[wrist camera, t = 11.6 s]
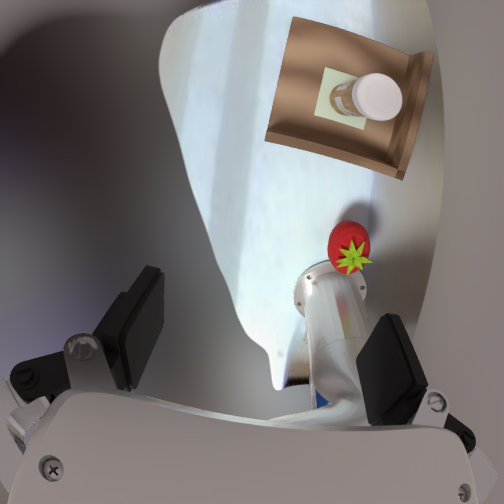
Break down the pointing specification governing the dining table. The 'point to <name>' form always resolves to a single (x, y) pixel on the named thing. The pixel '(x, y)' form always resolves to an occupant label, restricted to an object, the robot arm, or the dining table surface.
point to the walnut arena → (356, 64)
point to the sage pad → (323, 102)
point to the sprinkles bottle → (367, 97)
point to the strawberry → (348, 247)
